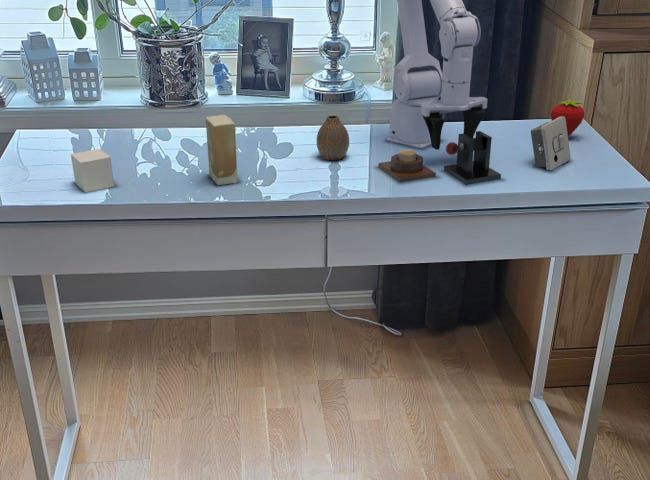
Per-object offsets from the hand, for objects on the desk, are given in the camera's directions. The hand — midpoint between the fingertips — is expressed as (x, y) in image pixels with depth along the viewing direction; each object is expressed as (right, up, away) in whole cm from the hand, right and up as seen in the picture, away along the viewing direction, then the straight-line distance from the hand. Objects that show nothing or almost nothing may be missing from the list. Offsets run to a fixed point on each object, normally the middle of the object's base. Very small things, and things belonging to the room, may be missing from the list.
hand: (451, 145), depth 188 cm
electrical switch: (+21, -4, +1) cm, 21 cm away
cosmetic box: (-47, -9, -7) cm, 48 cm away
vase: (-25, -2, +5) cm, 25 cm away
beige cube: (-72, -10, -9) cm, 73 cm away
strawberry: (+28, +5, +16) cm, 32 cm away
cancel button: (-10, -4, -5) cm, 11 cm away
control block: (-10, -6, -3) cm, 12 cm away
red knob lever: (+2, -2, -4) cm, 5 cm away
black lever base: (+4, -7, -5) cm, 9 cm away
